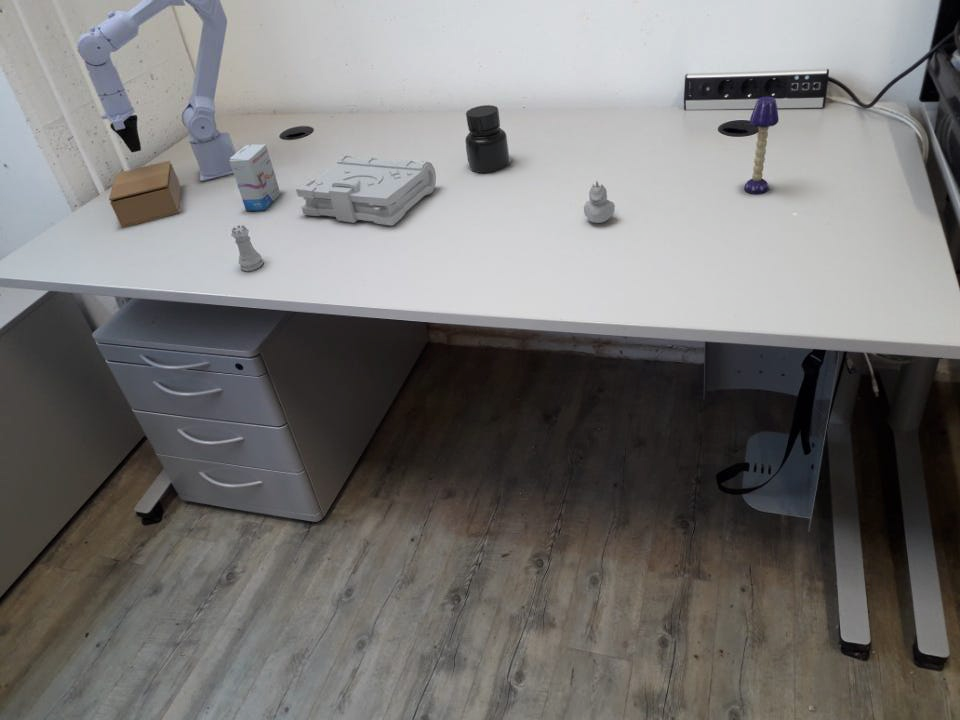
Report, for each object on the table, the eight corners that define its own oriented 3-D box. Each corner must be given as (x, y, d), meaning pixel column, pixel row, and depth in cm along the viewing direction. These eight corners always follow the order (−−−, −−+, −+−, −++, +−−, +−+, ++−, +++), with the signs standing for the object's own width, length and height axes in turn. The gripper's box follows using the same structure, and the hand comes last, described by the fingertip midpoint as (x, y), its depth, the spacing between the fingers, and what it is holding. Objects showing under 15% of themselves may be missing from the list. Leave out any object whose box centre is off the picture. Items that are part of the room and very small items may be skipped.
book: (337, 177, 171) (328, 145, 167) (441, 187, 159) (435, 152, 154) (282, 216, 158) (271, 182, 154) (392, 230, 146) (383, 194, 141)
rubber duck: (581, 227, 136) (578, 186, 131) (589, 210, 141) (587, 170, 136) (610, 228, 134) (609, 186, 129) (618, 211, 139) (617, 170, 134)
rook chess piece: (242, 262, 144) (228, 224, 139) (265, 258, 144) (252, 220, 139) (238, 273, 140) (224, 235, 136) (262, 269, 140) (248, 231, 136)
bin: (127, 200, 178) (115, 173, 174) (181, 187, 180) (170, 160, 176) (121, 227, 166) (108, 199, 162) (179, 213, 168) (167, 184, 164)
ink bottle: (500, 153, 169) (493, 99, 162) (518, 164, 162) (512, 109, 155) (461, 165, 166) (452, 112, 159) (478, 178, 160) (469, 122, 152)
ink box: (266, 211, 162) (248, 158, 155) (245, 211, 163) (226, 160, 156) (282, 193, 168) (265, 142, 161) (262, 194, 170) (244, 143, 162)
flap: (116, 175, 174) (115, 173, 174) (170, 162, 176) (169, 160, 176) (113, 187, 168) (112, 185, 168) (169, 174, 170) (168, 172, 170)
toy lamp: (773, 184, 138) (782, 94, 128) (769, 196, 135) (778, 104, 125) (746, 183, 140) (752, 94, 130) (741, 194, 137) (748, 103, 127)
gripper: (96, 87, 171) (121, 144, 179) (88, 104, 159) (115, 165, 167) (128, 80, 172) (151, 137, 180) (122, 97, 160) (147, 157, 169)
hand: (136, 150), depth 174 cm, fingers closed
